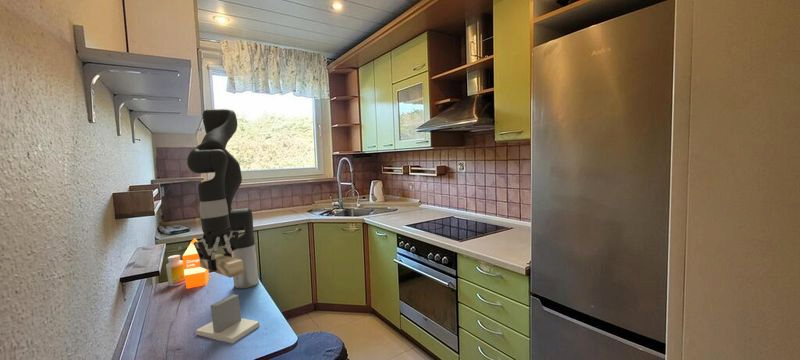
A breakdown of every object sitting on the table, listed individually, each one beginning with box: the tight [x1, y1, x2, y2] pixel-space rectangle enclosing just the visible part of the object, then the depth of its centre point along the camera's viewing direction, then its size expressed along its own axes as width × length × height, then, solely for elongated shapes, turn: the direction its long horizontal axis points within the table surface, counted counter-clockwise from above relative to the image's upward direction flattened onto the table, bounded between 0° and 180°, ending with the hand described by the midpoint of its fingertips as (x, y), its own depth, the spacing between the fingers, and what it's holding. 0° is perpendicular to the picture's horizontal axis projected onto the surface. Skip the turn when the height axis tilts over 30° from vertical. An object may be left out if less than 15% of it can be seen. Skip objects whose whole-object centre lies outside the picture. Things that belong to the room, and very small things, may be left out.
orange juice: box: [181, 237, 210, 290], centre depth 146 cm, size 8×9×20 cm
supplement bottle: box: [165, 254, 186, 287], centre depth 148 cm, size 7×7×13 cm
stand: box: [195, 293, 260, 345], centre depth 103 cm, size 16×10×10 cm, turn 66°
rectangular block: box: [199, 252, 244, 278], centre depth 102 cm, size 20×4×4 cm, turn 54°
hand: (221, 267), depth 102 cm, fingers closed on rectangular block, 4 cm apart
